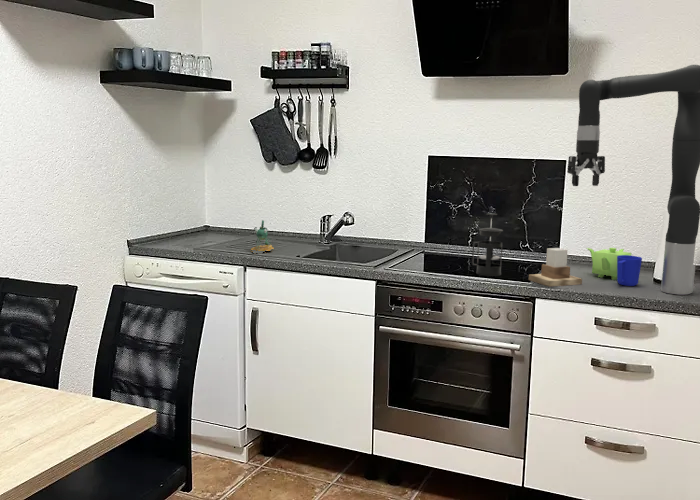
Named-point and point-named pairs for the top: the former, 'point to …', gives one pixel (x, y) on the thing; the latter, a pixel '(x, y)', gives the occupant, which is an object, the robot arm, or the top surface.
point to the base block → (555, 272)
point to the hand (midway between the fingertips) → (585, 185)
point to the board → (554, 280)
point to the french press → (488, 251)
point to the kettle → (606, 262)
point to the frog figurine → (261, 236)
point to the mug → (628, 270)
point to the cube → (556, 257)
